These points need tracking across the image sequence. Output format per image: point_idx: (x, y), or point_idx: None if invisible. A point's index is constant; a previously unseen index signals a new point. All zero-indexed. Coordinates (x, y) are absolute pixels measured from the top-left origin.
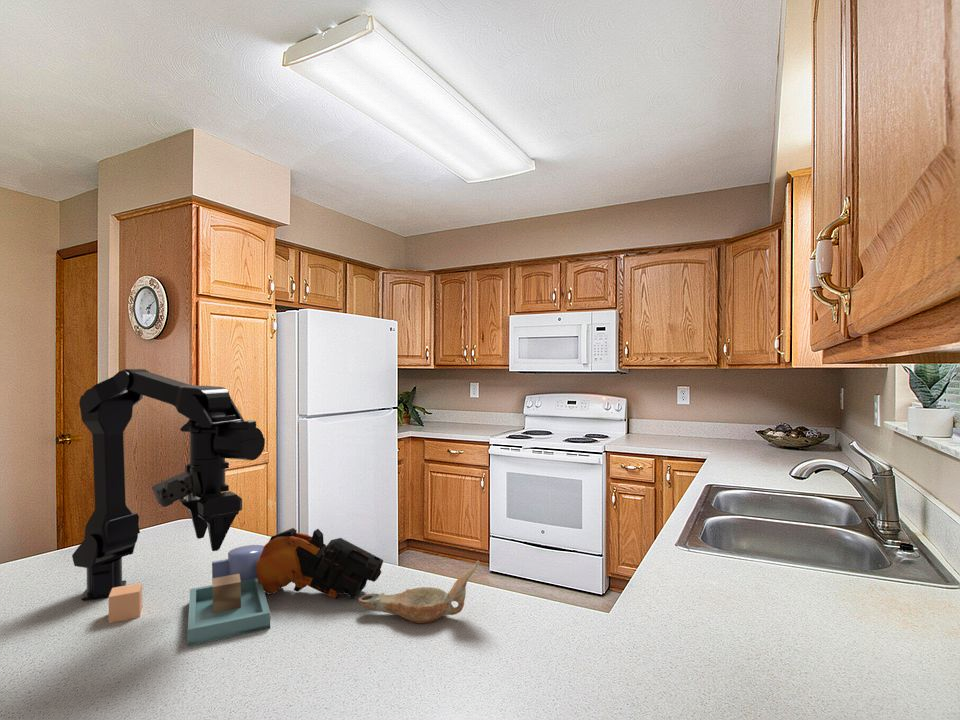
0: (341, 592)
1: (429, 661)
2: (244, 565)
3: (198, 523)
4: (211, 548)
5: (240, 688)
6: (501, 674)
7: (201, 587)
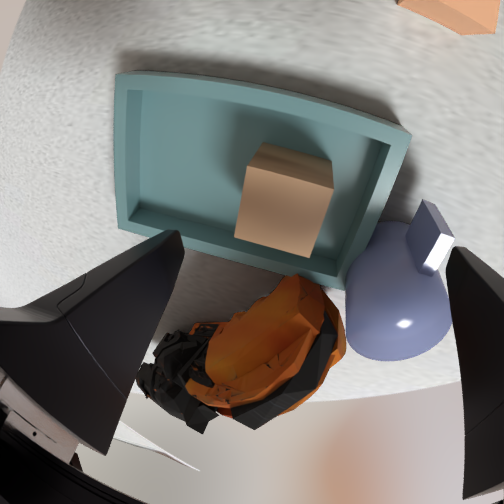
0: (174, 334)
1: (27, 288)
2: (355, 288)
3: (483, 314)
4: (170, 233)
5: (11, 137)
6: (14, 302)
7: (398, 162)
